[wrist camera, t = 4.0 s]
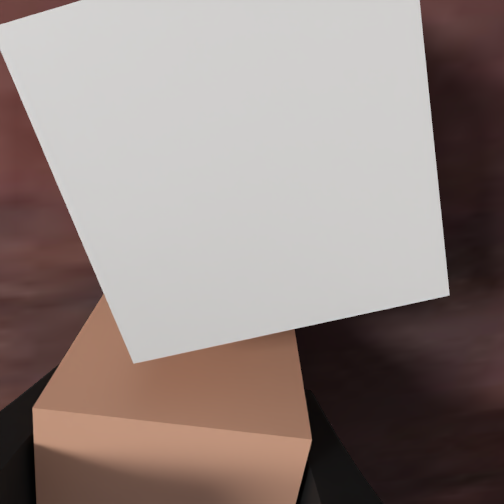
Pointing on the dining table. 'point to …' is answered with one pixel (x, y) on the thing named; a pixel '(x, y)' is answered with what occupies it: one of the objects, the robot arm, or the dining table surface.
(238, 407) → the terracotta cube
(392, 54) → the white cube
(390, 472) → the dining table surface
